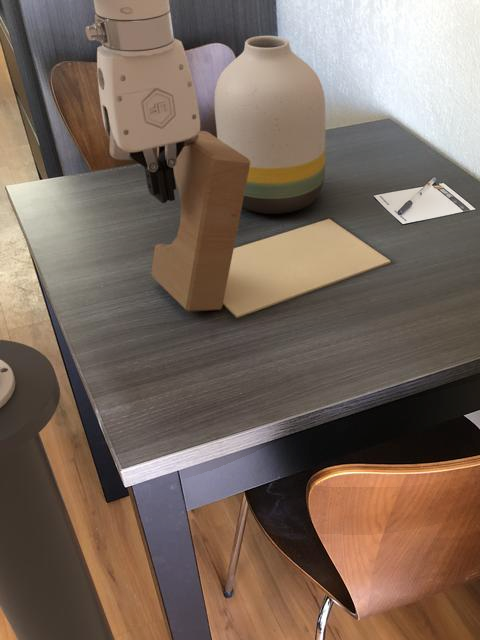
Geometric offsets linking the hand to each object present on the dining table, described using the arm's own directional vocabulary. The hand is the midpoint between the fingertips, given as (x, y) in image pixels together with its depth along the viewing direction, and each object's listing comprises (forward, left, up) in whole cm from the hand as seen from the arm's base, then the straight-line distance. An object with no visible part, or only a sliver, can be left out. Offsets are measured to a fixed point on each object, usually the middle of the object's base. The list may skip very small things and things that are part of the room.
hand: (163, 197), depth 89 cm
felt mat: (+17, 0, -15) cm, 23 cm away
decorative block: (+1, 0, -14) cm, 14 cm away
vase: (+27, +19, -15) cm, 36 cm away
